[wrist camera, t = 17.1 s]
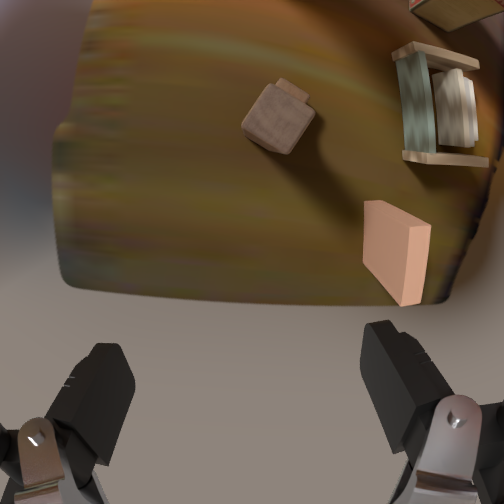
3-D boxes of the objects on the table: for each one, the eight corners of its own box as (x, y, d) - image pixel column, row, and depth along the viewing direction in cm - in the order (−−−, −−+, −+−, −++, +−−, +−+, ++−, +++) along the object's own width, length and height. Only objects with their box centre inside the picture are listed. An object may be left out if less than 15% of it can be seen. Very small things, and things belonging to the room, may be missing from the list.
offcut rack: (391, 52, 33) (413, 41, 26) (453, 66, 32) (478, 60, 26) (402, 159, 39) (427, 164, 32) (462, 162, 39) (488, 167, 32)
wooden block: (277, 83, 35) (299, 40, 18) (305, 100, 36) (345, 70, 19) (242, 135, 38) (238, 126, 21) (270, 152, 39) (288, 156, 22)
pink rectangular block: (364, 201, 41) (409, 226, 28) (381, 200, 41) (430, 225, 28) (362, 262, 45) (400, 306, 32) (379, 260, 45) (420, 303, 32)
